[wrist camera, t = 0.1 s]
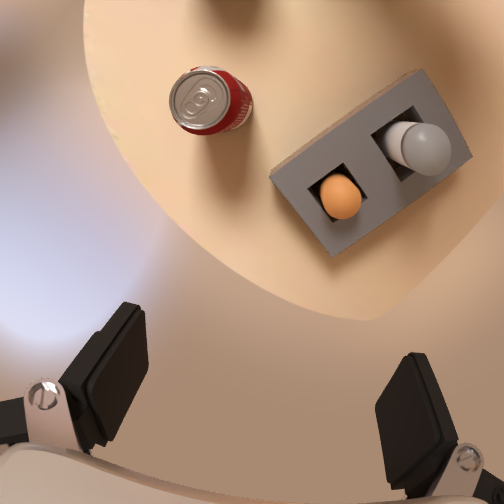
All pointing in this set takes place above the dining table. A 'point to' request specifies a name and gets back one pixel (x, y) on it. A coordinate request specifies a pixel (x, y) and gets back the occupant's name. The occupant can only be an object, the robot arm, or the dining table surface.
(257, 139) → the dining table surface
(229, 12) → the dining table surface
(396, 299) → the dining table surface
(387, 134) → the cylinder
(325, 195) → the brown egg
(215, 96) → the soda can
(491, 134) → the dining table surface
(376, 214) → the housing
